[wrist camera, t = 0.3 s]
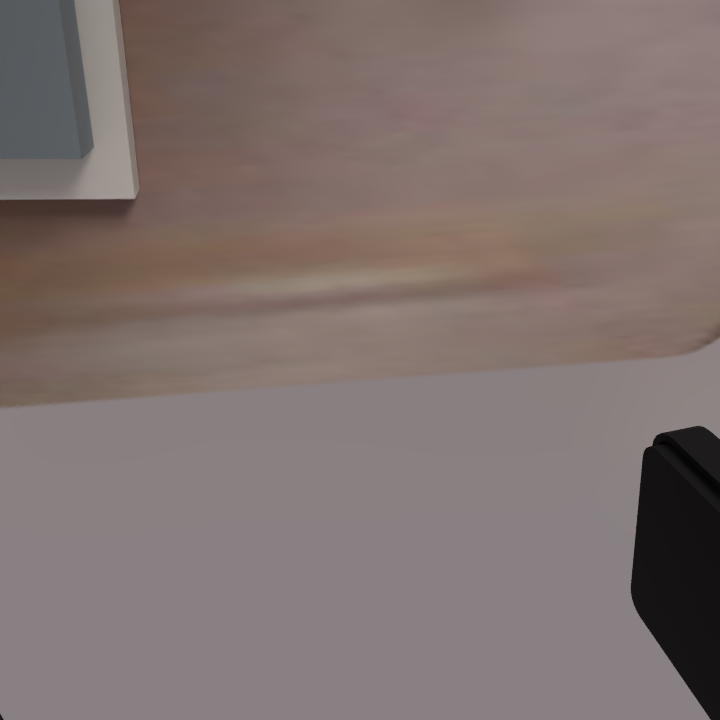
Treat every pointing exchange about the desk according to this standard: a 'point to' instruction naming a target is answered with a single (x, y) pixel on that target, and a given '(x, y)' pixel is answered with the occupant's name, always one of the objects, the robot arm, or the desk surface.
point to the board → (108, 122)
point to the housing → (42, 82)
